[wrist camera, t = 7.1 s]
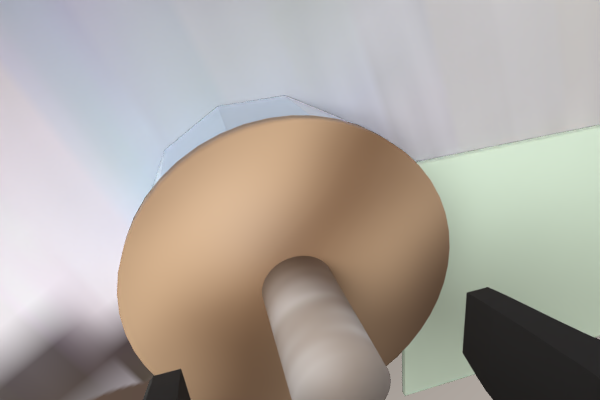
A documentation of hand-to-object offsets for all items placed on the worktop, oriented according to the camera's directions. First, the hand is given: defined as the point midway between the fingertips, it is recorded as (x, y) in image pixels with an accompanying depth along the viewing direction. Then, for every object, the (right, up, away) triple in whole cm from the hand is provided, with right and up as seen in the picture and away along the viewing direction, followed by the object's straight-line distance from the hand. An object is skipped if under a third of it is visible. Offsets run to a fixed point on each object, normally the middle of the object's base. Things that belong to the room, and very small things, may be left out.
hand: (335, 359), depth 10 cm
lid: (-1, +1, +4) cm, 5 cm away
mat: (+11, 0, +12) cm, 17 cm away
